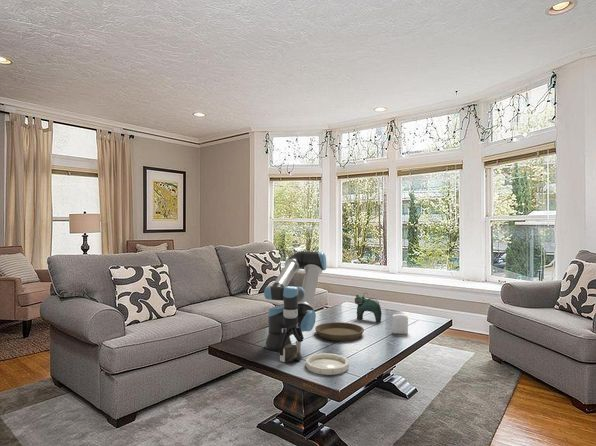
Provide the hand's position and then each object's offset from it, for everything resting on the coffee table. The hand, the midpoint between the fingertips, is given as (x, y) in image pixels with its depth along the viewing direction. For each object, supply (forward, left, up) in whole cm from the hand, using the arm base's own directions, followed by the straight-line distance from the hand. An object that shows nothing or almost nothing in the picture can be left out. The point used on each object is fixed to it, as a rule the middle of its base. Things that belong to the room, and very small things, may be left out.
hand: (290, 357), depth 195 cm
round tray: (+20, +4, -1) cm, 20 cm away
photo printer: (+28, +80, -2) cm, 85 cm away
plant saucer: (-2, +54, -2) cm, 54 cm away
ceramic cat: (-3, +98, -2) cm, 98 cm away
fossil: (0, -1, -2) cm, 2 cm away
